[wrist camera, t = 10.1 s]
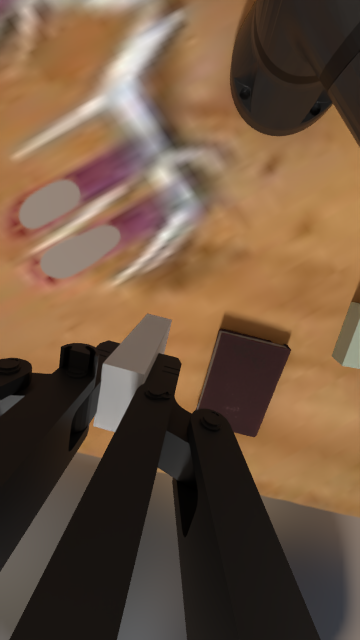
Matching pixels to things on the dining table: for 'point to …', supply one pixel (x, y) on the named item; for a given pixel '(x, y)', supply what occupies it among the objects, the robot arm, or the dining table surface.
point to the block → (349, 339)
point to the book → (242, 379)
